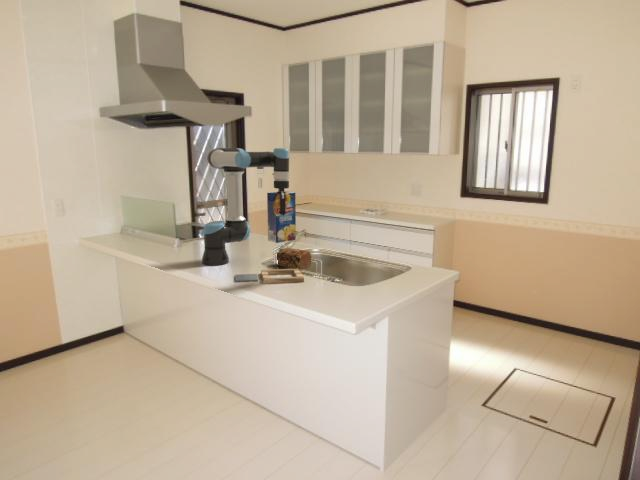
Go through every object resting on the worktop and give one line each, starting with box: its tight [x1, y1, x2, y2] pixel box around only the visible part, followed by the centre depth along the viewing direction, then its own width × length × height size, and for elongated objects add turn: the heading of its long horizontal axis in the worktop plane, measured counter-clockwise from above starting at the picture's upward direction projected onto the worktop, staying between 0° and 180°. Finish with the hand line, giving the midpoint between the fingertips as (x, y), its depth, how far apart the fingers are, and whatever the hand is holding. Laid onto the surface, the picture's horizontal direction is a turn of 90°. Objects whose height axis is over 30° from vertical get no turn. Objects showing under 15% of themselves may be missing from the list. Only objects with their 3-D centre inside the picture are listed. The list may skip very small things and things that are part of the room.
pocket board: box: [260, 268, 305, 285], centre depth 234 cm, size 18×20×2 cm
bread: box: [276, 247, 312, 271], centre depth 257 cm, size 19×11×10 cm, turn 50°
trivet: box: [234, 273, 259, 283], centre depth 232 cm, size 11×11×1 cm
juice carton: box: [266, 191, 297, 244], centre depth 228 cm, size 12×8×24 cm, turn 130°
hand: (281, 226), depth 229 cm, fingers open, 4 cm apart
